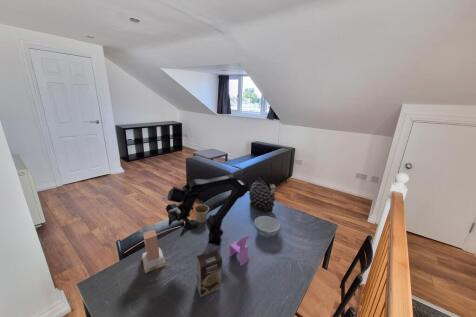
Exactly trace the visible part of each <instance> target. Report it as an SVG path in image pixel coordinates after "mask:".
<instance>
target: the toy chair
mask: <svg viewBox="0 0 476 317" xmlns="http://www.w3.org/2000/svg"><path fill="white" fill-rule="evenodd" d="M249 238H250V235H249V234H246V235H245V236H243V237H241V238H240V239H238V240H236V241H235V242H233V243H231V244H230V245H229V255H228V257H232V256H233V255H234V254H236V253H237V254H238V256H239V258H240V264H239V267H242V266H243V265H244V264H246V263H247V262H248V261H250V258H249V255H248V253H249V246H248V245H247V240H248V239H249Z"/></svg>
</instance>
